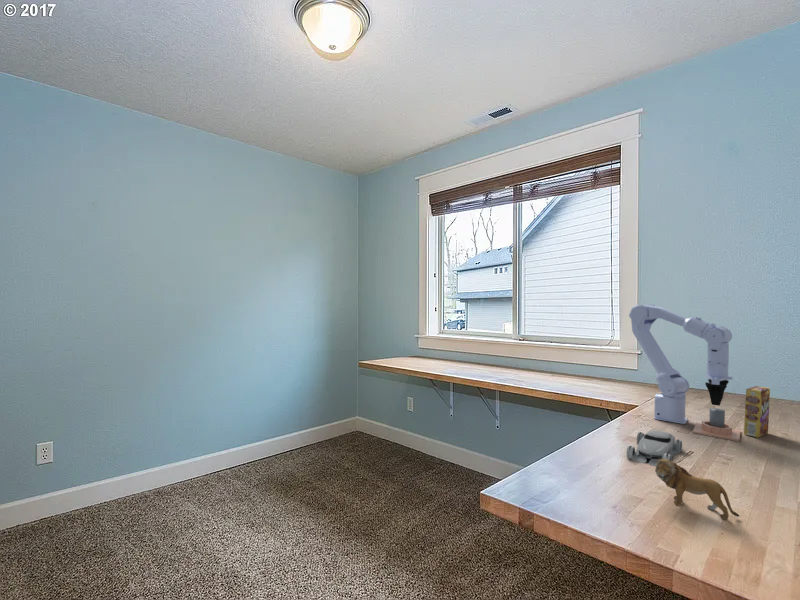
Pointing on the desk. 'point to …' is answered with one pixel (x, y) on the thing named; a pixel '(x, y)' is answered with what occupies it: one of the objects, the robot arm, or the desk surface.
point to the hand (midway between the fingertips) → (716, 402)
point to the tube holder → (717, 431)
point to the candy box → (757, 411)
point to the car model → (654, 447)
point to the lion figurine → (692, 485)
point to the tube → (717, 417)
